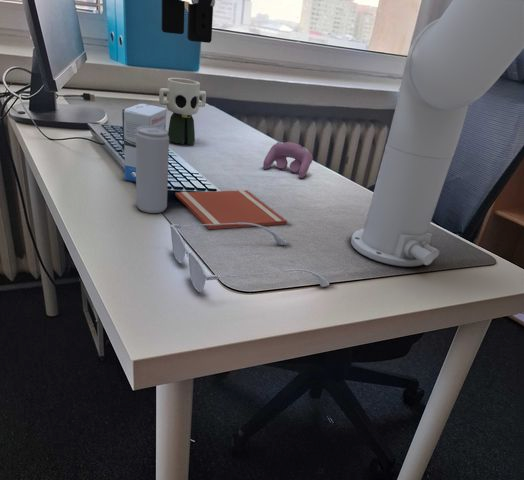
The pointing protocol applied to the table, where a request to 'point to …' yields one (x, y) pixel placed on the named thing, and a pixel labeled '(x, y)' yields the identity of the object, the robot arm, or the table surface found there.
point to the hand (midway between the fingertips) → (185, 37)
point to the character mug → (182, 107)
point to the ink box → (133, 120)
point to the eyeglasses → (200, 276)
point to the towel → (229, 209)
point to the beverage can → (152, 169)
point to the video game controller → (293, 151)
